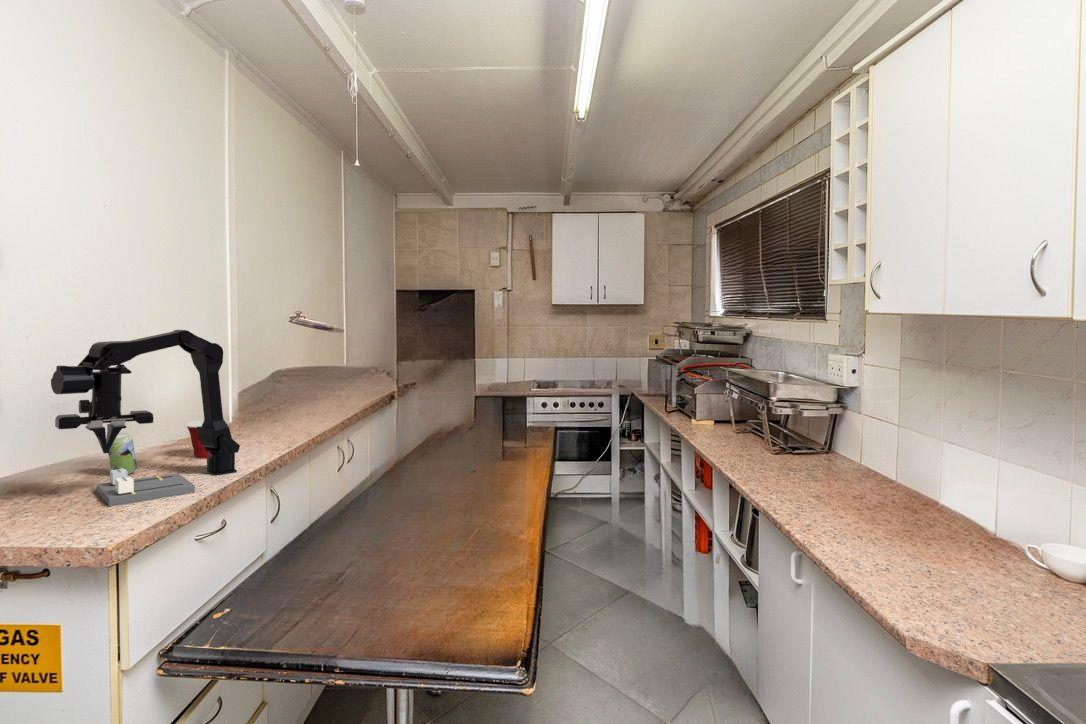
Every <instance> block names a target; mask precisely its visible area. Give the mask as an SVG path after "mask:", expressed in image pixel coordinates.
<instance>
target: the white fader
mask: <svg viewBox="0 0 1086 724" xmlns="http://www.w3.org/2000/svg"><path fill="white" fill-rule="evenodd" d="M122 477H128V474H127V471H126V470H125V469H116V470H111V469H110V470H109V482H111V483H112V484H113V485H115V479H116V478H122Z"/></svg>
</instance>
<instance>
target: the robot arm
mask: <svg viewBox="0 0 1086 724" xmlns="http://www.w3.org/2000/svg"><path fill="white" fill-rule="evenodd" d="M177 346H178V347H180V349H182V350H183V351H185V352H186V353H188V354H189V355H190V358H191V360H192V364H193V365H194V368H196V370H197V372H198V374H199V381H200V383H199V384H200V392H201V393H200V394H201V400H202V409H203V420H204V422H203V424H202V426H199V427H197V432H198V438H197V440H200V443H201V444H202V445H203V446H204V447H205V450H206V451H209V457H208V458H206V472H207V473H209V474H211V475H213V476H218V475H225V474H230V473H237V472H238V470H237V469H236V467H235V465H236V453H239V450H240V446H241V445H240V444H239V443H238V442H236V441H235V440H234V439H233V437H232V433H231V430H230V427H229V425H228V424H227V422H226V421H225V419H224V413H223V404H222V395H221V384H220V383H221V382H220V375H219V374H220V369H221V368H222V366H223V364H224V363H223V362H224V349H223V347H222V346H221V345H220V344H218V343H216V342H211V341H209V340H207V339H204V338H202V337H199V335H198V336H197V335H195V334H194V333H192V332H191V331H189V330H187V329H174V330H173V331H169V332H168V331H167V332H165V333H164V332H163V333H159V334H156V335H151V336H144V337H141V338H136V339H131V340H119V341H118V340H115V341H114V340H113V341H112V340H111V341H99V342H98V341H97V342H95V343H93V344H91V347H90V348H89V349H88V353H87V355H85V357H83V359H82V360H81V361H80V362H79V363H78V364H77V365H74V366H73V365H71V366H70V365H56V367H55V368H56V370H55V371H54V373H53V375H52V377H51V379H50V386H51V390H52V391H53V393H54V394H55V395H72V394H74V395H75V394H86V393H88V392H89V391H90V390H91V401H90V400H89V399H79V401H78V413H79V414H88V416H80V415H79V414H77V413H73V414H72V413H71V414H69V413H68V414H58V415H57V416H56V417H55V419H54V420H55V421H54V422H55V423H54V427H55V428H56V429H58V430H71V429H72V430H73V429H78V428H79V427H80V426H81V425H85V429H87V430H88V431H90V432H91V431H92V432H93V433H94V435H95V436H96V439H97V441H98V443H99V445H100V448H101V451H102V453H103V454H108V452H109V450H110V448H111V446H112V444H113V442H114V440H115V438H116V437H117V435H118V434H119V433H121V431H122V429H126V428H127V425H125V424H126V422H127V423H128V422H136V423H138V424H139V425H142V424H144V425H146V424H154V414H153V413H152V412H151V411H148V410H145V409H144V410H130V412H129V413H127V414H122V375H130V374H132V370H130V369H129V368H127V367H126V366H125V364H124V363H126V362H129V361H131V360H132V359H134V358H136V357H137V356H138V357H139V356H140V355H144V354H148V353H152V352H156V351H159V350H164V349H169V348H172V347H177ZM113 366H114V367H113ZM104 424H106V426H107V427H104V426H103V425H104ZM106 429H107V431H106ZM106 432H107V433H106Z"/></svg>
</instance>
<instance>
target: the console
mask: <svg viewBox="0 0 1086 724" xmlns="http://www.w3.org/2000/svg"><path fill="white" fill-rule="evenodd" d="M132 479H133V480H134V492H128V493H122V494H118V493H117V492H116V491H115V485H113V484H112V483H111V482H110V481H109V482H104V483H97V484H96V493H98V495H99V496H100V497H101V499H103V501H104V502H105V504H107V506H108V507H110V508H111V507H115V506H121V505H128V504H135V503H139V502H145V501H153V500H158V499H163V498H164V497H165V498H170V497H169V496H171V497H175V496H174V495H177V496H181V495H180V494H183V495H187V494H186V493H189V494H192V493H191V492H195V491H196V490H195V489H196V488H195V487H196V486H195V484H194V483H192V482H191V481H190V480H188V479H186V477H184V476H182V475H181V474H180V473H178V472H175V473H169V474H163V475H162V474H161V475H155V476H147V477H139V478H132Z"/></svg>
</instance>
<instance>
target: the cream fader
mask: <svg viewBox="0 0 1086 724" xmlns="http://www.w3.org/2000/svg"><path fill="white" fill-rule="evenodd" d="M133 479H134V478H133V477H131V476H127V477H122V478H116V479H115V491H116V492H117V493H118V494H122V493H128V492H134V480H133Z"/></svg>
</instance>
